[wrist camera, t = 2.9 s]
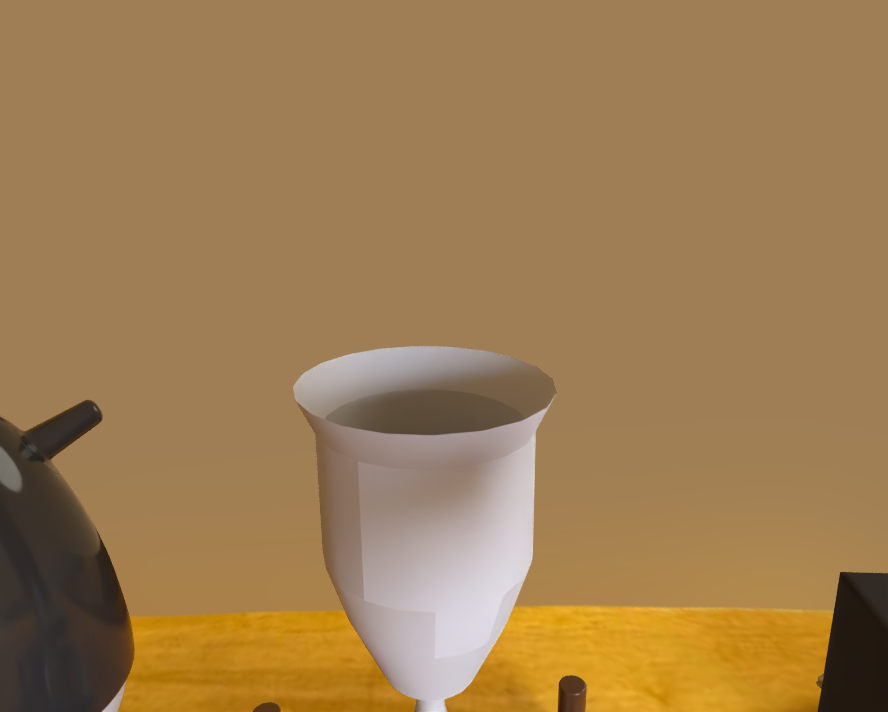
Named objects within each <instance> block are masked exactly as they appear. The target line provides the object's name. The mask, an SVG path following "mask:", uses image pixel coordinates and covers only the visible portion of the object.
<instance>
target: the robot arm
mask: <svg viewBox="0 0 888 712" xmlns="http://www.w3.org/2000/svg"><path fill="white" fill-rule="evenodd" d="M818 712H888V574H887V573H853V572H852V573H851V572H840V577H839V584H838V590H837V596H836V602H835V608H834V614H833V621H832V627H831V633H830V639H829V645H828V652H827V658H826V664H825V670H824V676H823V683H822V689H821V695H820V701H819V707H818Z"/></svg>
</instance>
